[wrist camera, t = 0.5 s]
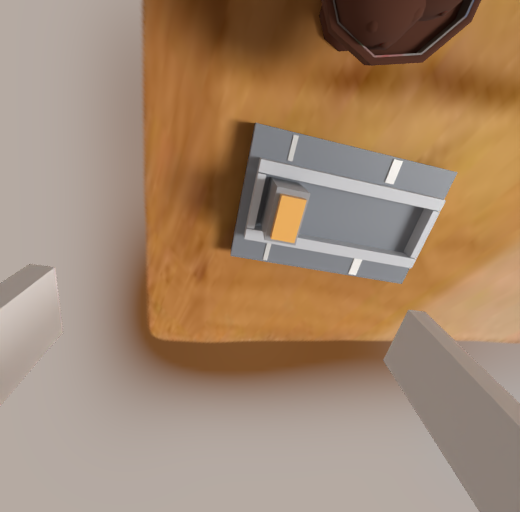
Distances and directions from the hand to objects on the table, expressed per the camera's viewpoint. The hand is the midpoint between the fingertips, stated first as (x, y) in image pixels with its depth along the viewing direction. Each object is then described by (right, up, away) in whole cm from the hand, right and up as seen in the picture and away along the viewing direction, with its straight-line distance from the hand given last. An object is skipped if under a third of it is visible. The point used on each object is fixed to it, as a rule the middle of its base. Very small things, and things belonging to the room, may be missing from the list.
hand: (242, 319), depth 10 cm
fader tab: (+3, +8, +19) cm, 20 cm away
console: (+9, +8, +21) cm, 25 cm away
